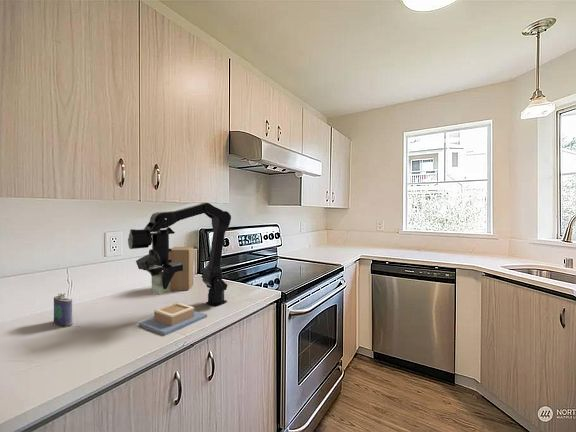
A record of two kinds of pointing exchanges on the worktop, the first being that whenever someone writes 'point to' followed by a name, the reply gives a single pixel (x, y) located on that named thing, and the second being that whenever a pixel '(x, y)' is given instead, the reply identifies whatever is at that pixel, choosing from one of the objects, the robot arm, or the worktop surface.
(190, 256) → the wooden block
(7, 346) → the worktop surface
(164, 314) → the build base
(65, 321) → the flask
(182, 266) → the robot arm
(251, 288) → the worktop surface
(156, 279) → the sage block
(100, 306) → the worktop surface
